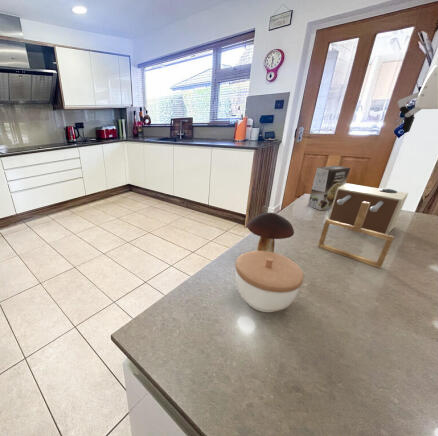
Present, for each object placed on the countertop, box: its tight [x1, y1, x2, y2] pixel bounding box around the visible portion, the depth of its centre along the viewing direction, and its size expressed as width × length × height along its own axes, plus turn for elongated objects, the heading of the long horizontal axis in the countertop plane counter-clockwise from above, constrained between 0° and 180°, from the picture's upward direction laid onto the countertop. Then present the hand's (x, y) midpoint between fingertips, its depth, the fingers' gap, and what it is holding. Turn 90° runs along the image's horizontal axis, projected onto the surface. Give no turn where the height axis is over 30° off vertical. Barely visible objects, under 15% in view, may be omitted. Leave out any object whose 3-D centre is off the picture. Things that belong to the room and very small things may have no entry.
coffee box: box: [307, 164, 351, 211], centre depth 93 cm, size 9×6×16 cm
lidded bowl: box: [234, 250, 305, 313], centre depth 50 cm, size 13×13×11 cm
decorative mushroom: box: [246, 212, 295, 253], centre depth 61 cm, size 11×11×15 cm
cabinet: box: [327, 182, 409, 235], centre depth 77 cm, size 16×18×12 cm
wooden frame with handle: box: [317, 201, 395, 269], centre depth 62 cm, size 14×1×16 cm, turn 36°
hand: (431, 132), depth 62 cm, fingers open, 9 cm apart
